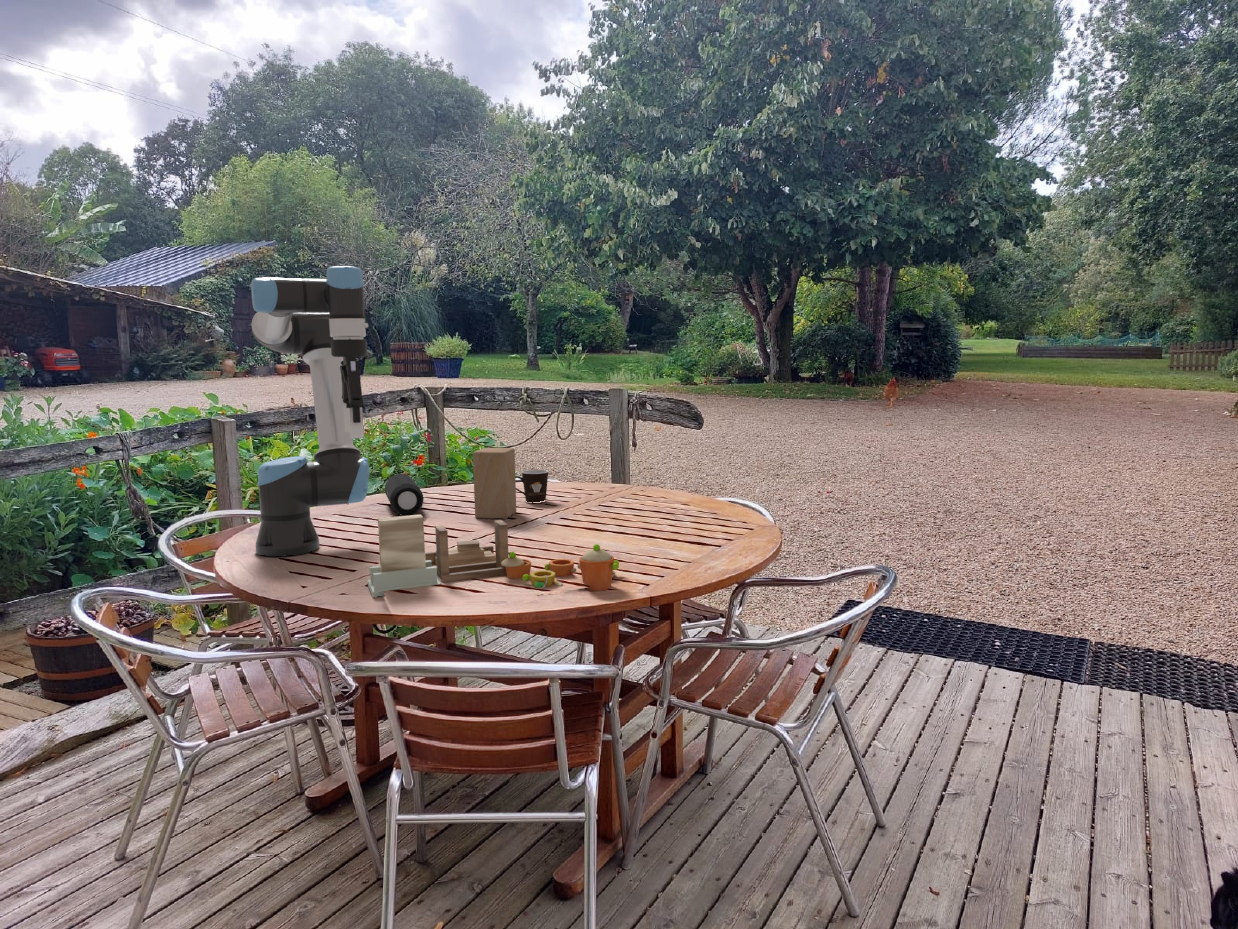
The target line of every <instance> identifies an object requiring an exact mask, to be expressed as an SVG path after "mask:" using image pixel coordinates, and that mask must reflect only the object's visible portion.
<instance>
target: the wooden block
mask: <svg viewBox="0 0 1238 929" xmlns="http://www.w3.org/2000/svg"><path fill="white" fill-rule="evenodd" d="M515 454H516V453H515V448H514V447H483V448H480V449H478V450H475V451H473V452H472V464H473V466H472V467H473V469H472V470H473V471H472V472H473V492H474V493H473V494H474V495H473V496H474V498H473V499H474V517H475V519H485V518H503V519H502V520H507V519H509V518H510V517H512V516H513V515H515V514H516V513H517V490H516V488H517V487H516V484H517V483H516V482H517V481H516V478H515V476H516V456H515ZM512 514H513V515H512ZM511 515H512V516H511ZM508 517H509V518H508Z"/></svg>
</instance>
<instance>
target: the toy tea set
mask: <svg viewBox="0 0 1238 929" xmlns="http://www.w3.org/2000/svg"><path fill="white" fill-rule="evenodd" d="M508 557H509V558H506V559H505V560H503V561H502V562H501V565H502V566H505V568H506V573H507V574H506V577H507V578H509V579H516V580H518V579H522V581H524V582H529V581H530V583H531V585H532V586H533V587H534V588H546V587H552V586H553V585H555V586H557V587H562V586H564V583H562V581H560V580H558V579H557V578H556V577H567V576H571V575H573V574H574V573H576V572H577V569H579V570H580V571H581V579H582V583H583V584H584V585H587V586H588V587H584V589H585V590H587V591H590V592H592V591H593V592H602V591H608V590H609V589H611V587H612V581H613V578H614V577H616V572H615V571H617V570H618V569H619V568H620V561H619V560H617V559H616V560H615V557H614V556H613V555H611V554H610V553H609V552H608V551H606V550H604V549H603V548H601V546H600V545H599V544H598V543H595V544H594V545H593V546H592V549H590V550H587V551H586V552H585V553H583V555H582V556H579V560H578V561H579V563H578V564H577V568H576V567H575V560H573V559H569V558H567V559H566V558H556V559H552V560H550V561H548V563H546V564H545V565H544V569H543V570H536V571H532V572H531V569H532V568H531V567H532V561H531V560H529V559H524V558H520V557H517V554H516V552H515V551H511V552H508ZM614 570H615V571H614Z"/></svg>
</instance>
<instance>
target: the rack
mask: <svg viewBox="0 0 1238 929" xmlns="http://www.w3.org/2000/svg"><path fill="white" fill-rule="evenodd" d="M508 528H509V527H508V524H507V523H506V522H505V521H504V520H503V519H495V520H494V544H495V545H486V546H480V541H479V540H480V539H469V540H457V541H456V547H453V548H449V537H448V536H449V535H448V534H449V533H448V529H447V528H446V527H444V525H436V526H435V546H436V547H435V549H436V550H435V551H430V552H425V561H427V560H431V561H432V567H433V566H436V568H437V579H438V580H439V582H440V583H447V582H454V581H463V580H471V579H472V580H473V579H480V578H489V577H496V576H506V575H507V573H506V568H505V566H502V565H501V562H502V561H503V560H505V559H506V558H509V535H508V534H509V532H508V531H509V530H508ZM494 547H495V548H494ZM494 549H495V551H494ZM494 553H495V554H494Z"/></svg>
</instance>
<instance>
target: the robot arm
mask: <svg viewBox="0 0 1238 929" xmlns="http://www.w3.org/2000/svg"><path fill="white" fill-rule="evenodd" d="M250 283H251V285H250V286H251V289H250V290H251V291H250V292H251V300H252V301H251V302H252V308H253V311H255V312H256V313H255V314H254V315H253V317H252V321H251V325H250V326H251V332H252V334H253V336H254V338H255V340H256V341H257V342H259V344H261V346H263V347H265V348H267V349H270V350H271V351H274V352H277V353H281V354H288V355H292V354H293V355H302V360H303V362H304V363H305V364H307V365H308V366H309V369H310V370H309V371H310V379H311V388H312V394H313V395H312V397H313V405H314V406H313V407H314V415H315V424H316V431H317V440H318V450H317V451H316V452H315V453H314V454H313V461H308V459H307V457H306V456H303V455H302V456H301V455H298V456H289V457H288V456H287V457H283V458H278V459H273V460H270V461H267V462H264V463H263V464H261V465H260V466H259V468H258V469H257V486H258V492H259V494H258V495H259V508H260V509H259V511H260V512H259V513H260V526H259V530H258V533H257V538H256V541H255V554H256V555H257V556H258V555H259V556H261V555H266V556H265V557H269V556H281V557H285V556H284V555H293V556H299V555H303V554H307V553H312V552H314V551H317V550H318V549H319V548H320V538H319V535H318V533H317V530H316V528H315V526H314V523H313V521H312V518H311V510H310V509H311V508H313V507H314V508H315V507H324V506H325V507H326V506H327V507H328V506H339V505H349V504H356V503H361V502H363V501H364V500H366V497H367V494H368V490H369V480H370V479H369V478H370V477H369V476H370V466H369V465H370V464H369V459H368V458H367V457H364V456H362V455H361V450H360V449H359V448H358V447H356V446H355V445H354V440H353V439H363V438H365V432H364V416H363V404H364V400H363V393H362V391H363V390H362V382H361V378H362V376H361V366H360V362H359V360H357V357H366V356H368V346H367V345H368V344H367V341H366V339H364V337H366V336H367V335H366V334H367V333H366V328H369V323H368V322H367V323H366V320H365V319H366V315H365V314H366V312H365V297H364V296H365V294H364V292H365V291H364V285H365V281H364V276H363V271H362V269H361V268H359V267H357V266H351V265H349V266H347V265H346V266H345V265H344V266H343V265H342V266H341V265H340V266H339V265H338V266H335V265H334V266H329V267H328V268H327V270H326V278H289V277H288V278H285V277H271V276H267V277H255V278H253V279H252V280H251V282H250ZM311 551H312V552H311Z"/></svg>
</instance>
